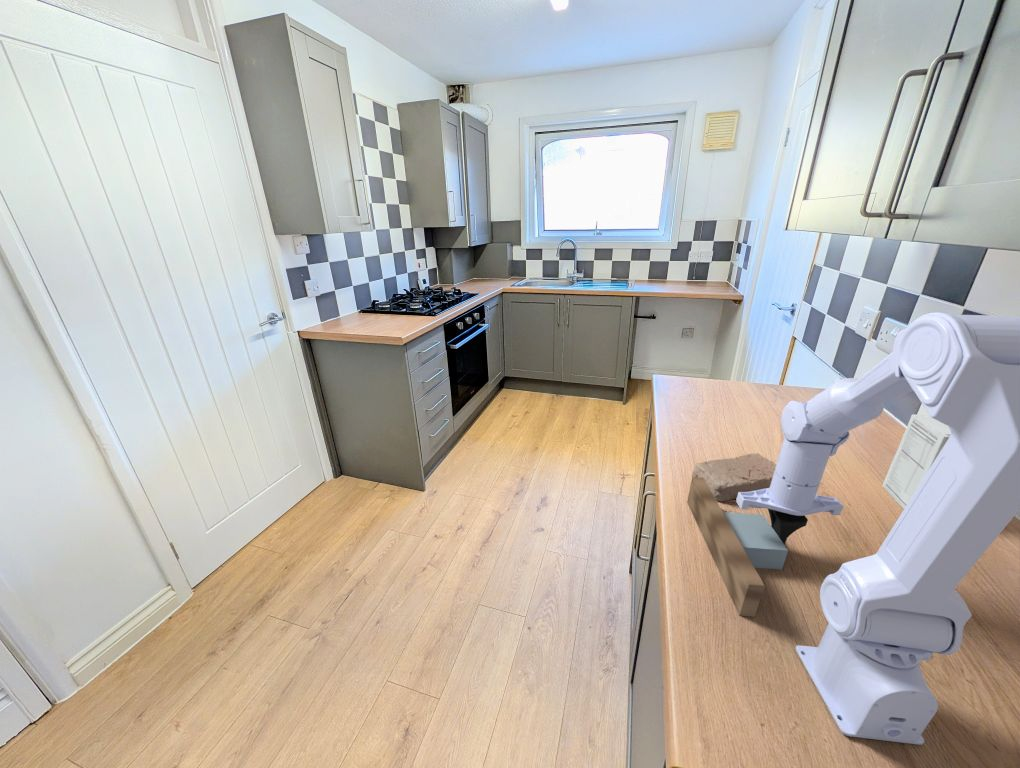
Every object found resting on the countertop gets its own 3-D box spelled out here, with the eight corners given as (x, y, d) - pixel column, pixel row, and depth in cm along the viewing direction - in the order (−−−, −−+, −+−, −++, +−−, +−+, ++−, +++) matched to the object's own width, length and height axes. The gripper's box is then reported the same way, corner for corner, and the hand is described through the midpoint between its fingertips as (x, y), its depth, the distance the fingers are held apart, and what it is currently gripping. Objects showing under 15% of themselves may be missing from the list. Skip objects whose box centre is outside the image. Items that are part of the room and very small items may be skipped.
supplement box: (971, 525, 70) (1017, 445, 63) (907, 515, 72) (945, 437, 66) (935, 492, 78) (973, 418, 72) (879, 484, 81) (911, 412, 74)
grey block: (781, 569, 62) (788, 550, 60) (728, 565, 63) (733, 546, 61) (757, 532, 69) (763, 514, 67) (710, 529, 70) (714, 511, 68)
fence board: (754, 616, 54) (764, 585, 52) (739, 615, 55) (748, 584, 52) (697, 502, 76) (703, 477, 74) (687, 502, 77) (692, 477, 74)
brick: (715, 504, 76) (720, 484, 75) (688, 479, 84) (692, 460, 82) (785, 492, 80) (792, 473, 78) (754, 469, 87) (759, 451, 85)
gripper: (831, 463, 62) (807, 528, 68) (736, 458, 64) (720, 522, 69) (863, 491, 56) (834, 561, 61) (756, 485, 58) (736, 554, 63)
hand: (775, 543), depth 65 cm, fingers closed
